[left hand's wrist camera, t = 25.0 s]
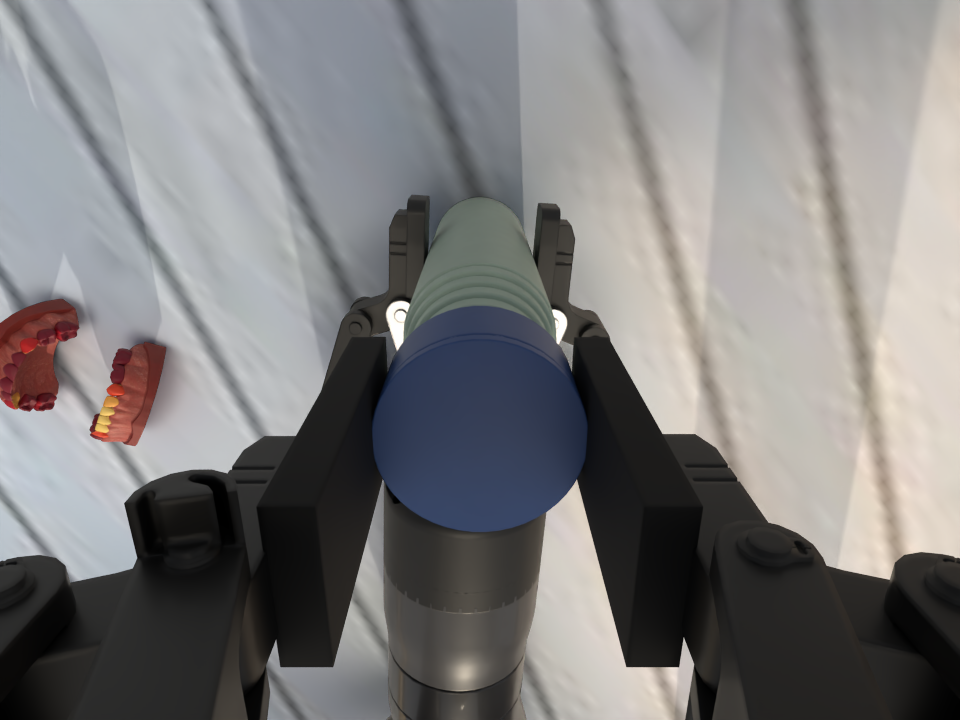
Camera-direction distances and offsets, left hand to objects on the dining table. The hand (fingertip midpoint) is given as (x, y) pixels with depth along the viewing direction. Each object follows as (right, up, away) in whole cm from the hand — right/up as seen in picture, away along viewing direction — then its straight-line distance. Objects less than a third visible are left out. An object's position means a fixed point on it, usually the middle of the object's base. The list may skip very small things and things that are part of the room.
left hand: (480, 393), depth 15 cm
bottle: (0, +7, +17) cm, 18 cm away
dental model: (-20, 0, +19) cm, 28 cm away
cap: (0, -1, -2) cm, 2 cm away
